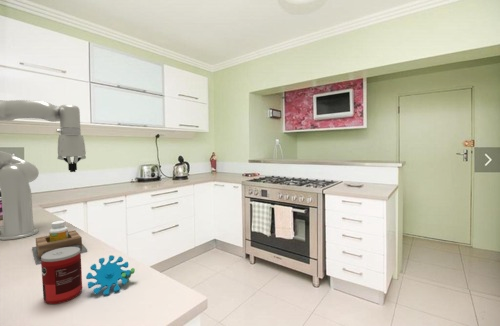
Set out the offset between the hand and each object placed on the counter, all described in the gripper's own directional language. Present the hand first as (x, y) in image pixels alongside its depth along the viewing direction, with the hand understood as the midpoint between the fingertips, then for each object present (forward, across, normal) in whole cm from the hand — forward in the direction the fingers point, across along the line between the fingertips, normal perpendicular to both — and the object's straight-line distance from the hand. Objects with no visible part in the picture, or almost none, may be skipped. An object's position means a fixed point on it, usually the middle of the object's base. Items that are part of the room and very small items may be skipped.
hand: (72, 171), depth 115 cm
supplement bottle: (+26, -9, -27) cm, 39 cm away
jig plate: (+27, -9, -27) cm, 39 cm away
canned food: (+27, -13, -64) cm, 70 cm away
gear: (+27, -3, -69) cm, 74 cm away
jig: (+27, -9, -27) cm, 39 cm away
